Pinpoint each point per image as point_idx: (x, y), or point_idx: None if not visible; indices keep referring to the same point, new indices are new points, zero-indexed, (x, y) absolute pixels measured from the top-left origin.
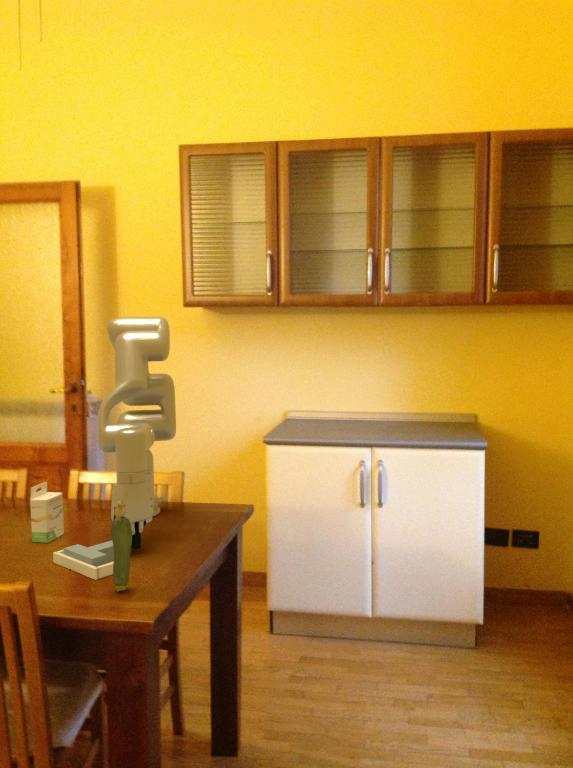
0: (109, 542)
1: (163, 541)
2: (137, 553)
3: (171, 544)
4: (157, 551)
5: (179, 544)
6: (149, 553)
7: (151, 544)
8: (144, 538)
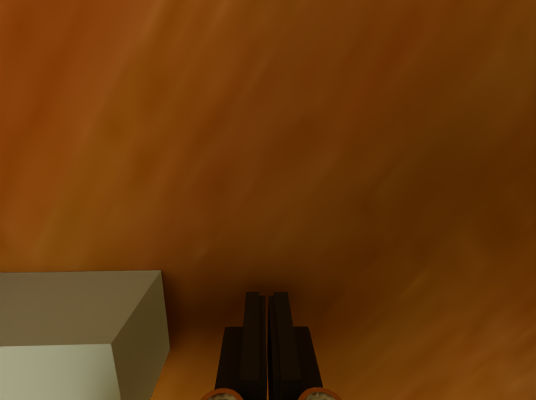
0: (29, 376)
1: (488, 286)
2: None
3: (466, 354)
4: (343, 383)
5: (486, 380)
6: None
7: (411, 277)
8: (482, 147)
